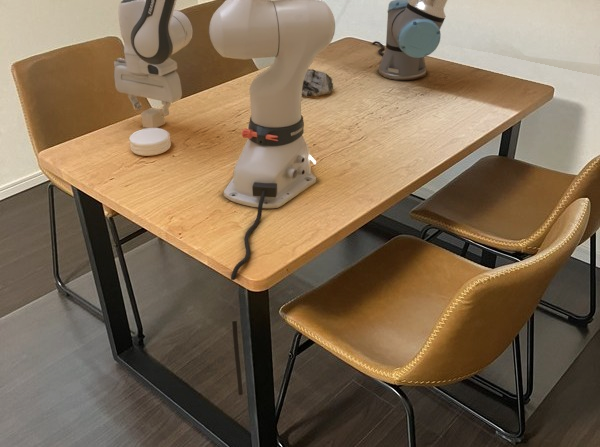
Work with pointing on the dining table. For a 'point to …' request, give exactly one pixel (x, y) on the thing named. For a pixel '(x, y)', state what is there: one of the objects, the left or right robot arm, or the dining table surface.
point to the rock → (316, 83)
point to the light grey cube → (152, 118)
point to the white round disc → (150, 141)
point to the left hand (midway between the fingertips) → (151, 112)
